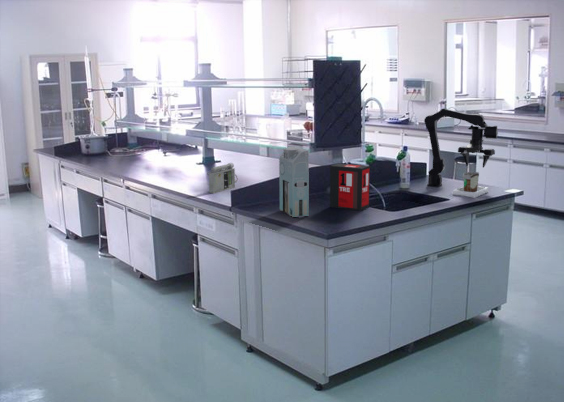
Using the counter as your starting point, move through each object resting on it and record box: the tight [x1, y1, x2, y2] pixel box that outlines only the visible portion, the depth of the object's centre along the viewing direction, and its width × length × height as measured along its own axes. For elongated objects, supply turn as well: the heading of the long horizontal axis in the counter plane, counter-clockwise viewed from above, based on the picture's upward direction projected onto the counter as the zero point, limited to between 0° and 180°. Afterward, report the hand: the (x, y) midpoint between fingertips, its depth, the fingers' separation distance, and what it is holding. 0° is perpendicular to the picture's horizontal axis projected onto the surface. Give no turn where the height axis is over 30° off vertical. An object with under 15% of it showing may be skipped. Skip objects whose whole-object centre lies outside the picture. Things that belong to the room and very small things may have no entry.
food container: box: [462, 171, 480, 192], centre depth 332 cm, size 12×6×10 cm, turn 142°
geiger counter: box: [206, 162, 239, 194], centre depth 348 cm, size 14×6×25 cm
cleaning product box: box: [329, 162, 371, 212], centre depth 302 cm, size 16×9×20 cm, turn 58°
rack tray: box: [452, 185, 489, 199], centre depth 332 cm, size 12×18×2 cm, turn 142°
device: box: [278, 145, 310, 218], centre depth 288 cm, size 16×8×30 cm, turn 21°
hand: (475, 166), depth 344 cm, fingers open, 9 cm apart
